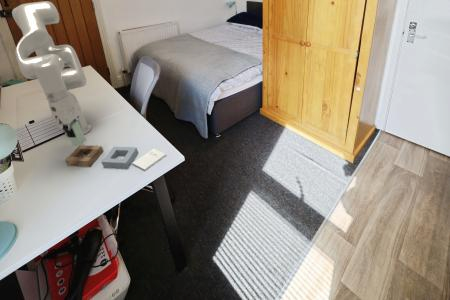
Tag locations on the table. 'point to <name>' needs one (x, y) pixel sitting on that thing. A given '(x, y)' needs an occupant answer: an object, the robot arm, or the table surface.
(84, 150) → the socket
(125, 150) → the socket
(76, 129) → the plug
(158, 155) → the external hard drive
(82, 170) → the table surface
